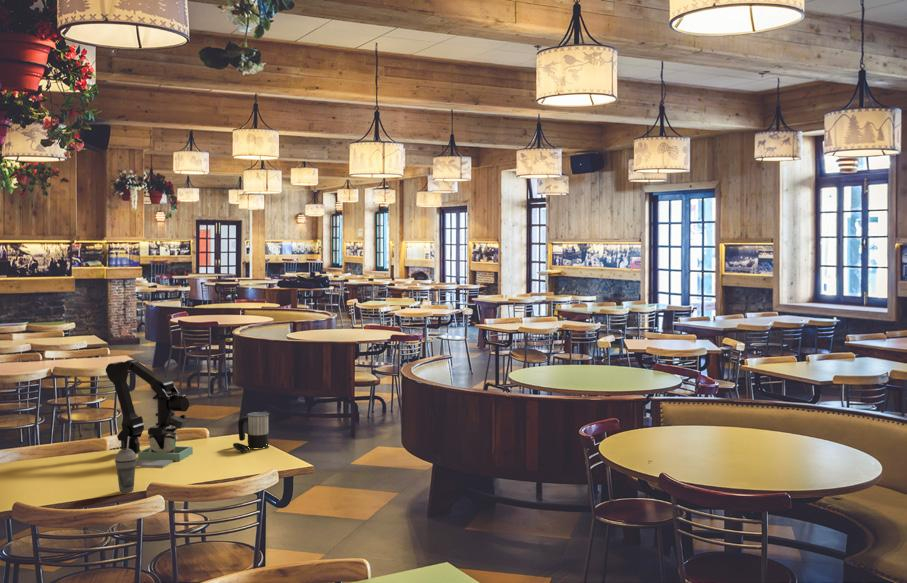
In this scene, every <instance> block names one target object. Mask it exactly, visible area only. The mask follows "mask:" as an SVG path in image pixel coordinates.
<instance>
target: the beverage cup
mask: <svg viewBox="0 0 907 583" xmlns="http://www.w3.org/2000/svg"><path fill="white" fill-rule="evenodd" d="M128 446H129V436H128V441H127V448H124V449H121V448H120V449H119V451H118V452H117V453H116V455H115V460H114V464H115V466H116V474H117V482H118V489H119V493H120V492H121V493H120V494H123V493H125V494H129V493H128V492H131V493H133V492H134V489H135V488H134V487H135V475H136V467H135V465H136V461H137V460H138V457H137V455H136V454H137V453H136V454H135V453H134V451H133V450H131V449H129V448H128ZM132 491H133V492H132Z"/></svg>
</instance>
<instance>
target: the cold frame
mask: <svg viewBox="0 0 907 583" xmlns="http://www.w3.org/2000/svg"><path fill="white" fill-rule="evenodd" d="M193 449H194V448H193V446H183V445H182V446H179V445H177V446H176V447H175V453H155V452H151V448H150V446H149V447H147V448H144V449H143V450H141V451H140V452H138V453H137V460H139V459H147V460H172V462H180V461H183V460H184V459H186V458H188V457H189V455H190V456H191V455H193V454H194V452H193Z"/></svg>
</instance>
